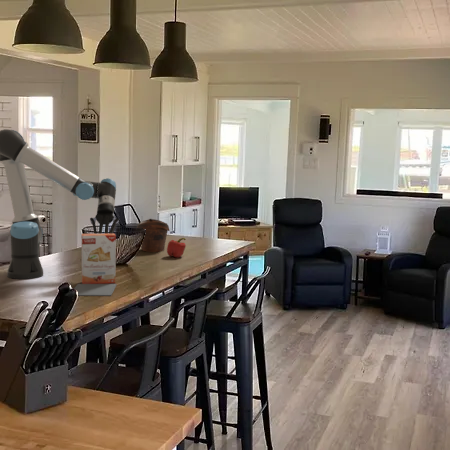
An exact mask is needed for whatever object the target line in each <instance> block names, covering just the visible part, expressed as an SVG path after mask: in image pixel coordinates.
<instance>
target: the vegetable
mask: <svg viewBox="0 0 450 450" xmlns="http://www.w3.org/2000/svg"><path fill="white" fill-rule="evenodd" d="M182 240H184V241H186V238H185V237H181V238H179V239H178V240H173V239H172V240H169V241H168V244H167V246H166V247H167V248H166V253H167V255H168V256H169V257H174V258H177V259H178V258H181V257H182V256H183V255H184V252H185V249H186V246H187V245H186V243H185V242H181V241H182Z"/></svg>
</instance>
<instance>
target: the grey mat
mask: <svg viewBox="0 0 450 450" xmlns="http://www.w3.org/2000/svg"><path fill="white" fill-rule="evenodd" d="M117 285H118V283H108V284H82V283H77V284H76V286H75V287H74V288H73V289H76V290H77V291H78V295H79V296H81V297H85V296H86V297H87V296H88V297H90V296H91V297H94V296H95V297H112V296H113V293H114V291H115V289H116V287H117ZM79 296H78V297H79Z"/></svg>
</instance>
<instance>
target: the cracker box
mask: <svg viewBox="0 0 450 450" xmlns="http://www.w3.org/2000/svg"><path fill="white" fill-rule="evenodd" d="M116 243H117V236H116V234H115V233H113V234H104V233H102V234H94V233H81V284H116V274H117V273H116V265H117V261H116V257H117V254H116V253H117V252H116V250H117V247H116V246H117V245H116Z"/></svg>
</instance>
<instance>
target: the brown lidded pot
mask: <svg viewBox="0 0 450 450" xmlns="http://www.w3.org/2000/svg"><path fill="white" fill-rule="evenodd" d="M137 228H143V229H146V234H145V237H144V240H143V243H142V246H141V245H140V247H141V251H142V252H148V253H156V252H157V253H159V252H163V251H164V250H165V247H166V242H167V236H168V232H170V227H169V225H168V223H166V222H164V221H162V220H159V219H153V218H148V219H146V220H143V221H141V222H139V223H138V224H137V226H136V229H137Z"/></svg>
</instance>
